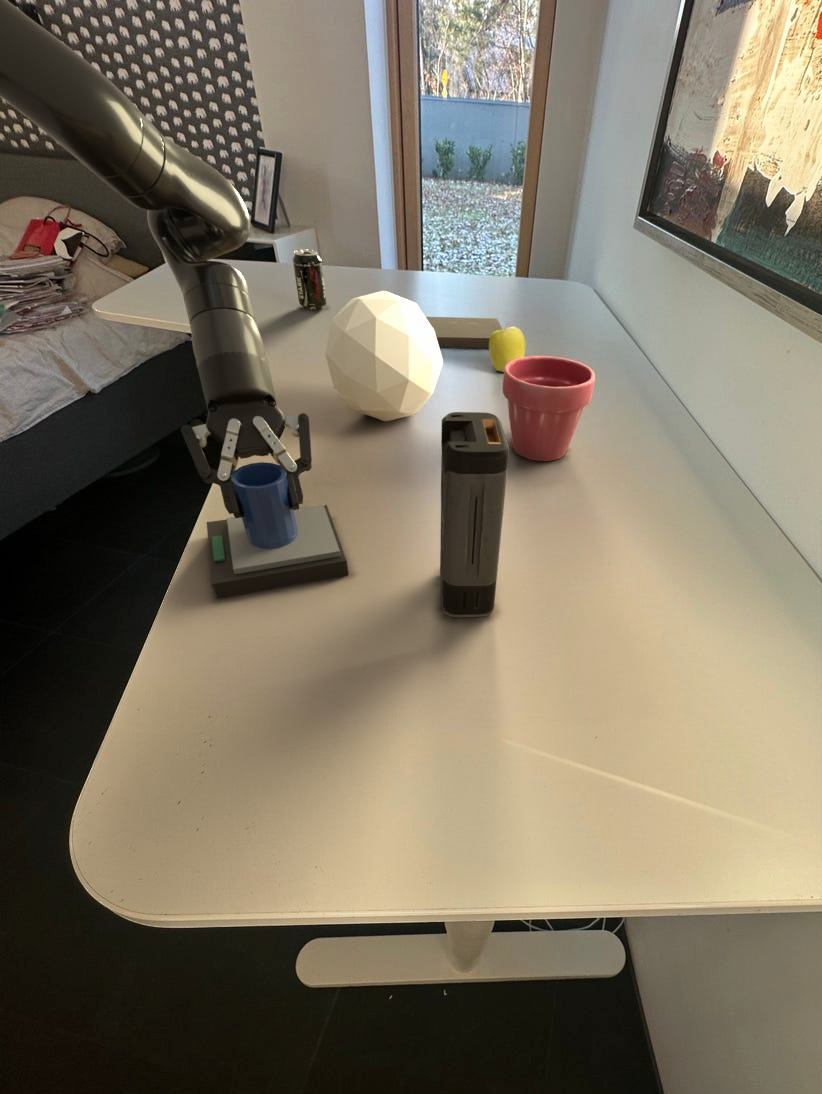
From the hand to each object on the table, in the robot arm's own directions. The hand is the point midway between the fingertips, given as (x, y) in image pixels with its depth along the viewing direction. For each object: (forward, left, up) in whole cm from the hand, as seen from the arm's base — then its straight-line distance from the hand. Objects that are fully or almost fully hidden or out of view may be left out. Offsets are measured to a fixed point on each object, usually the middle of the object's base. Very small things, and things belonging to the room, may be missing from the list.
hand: (267, 511), depth 65 cm
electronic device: (+20, -12, -7) cm, 25 cm away
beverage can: (+22, +108, -7) cm, 110 cm away
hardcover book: (+50, +78, -7) cm, 93 cm away
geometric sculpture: (+24, +40, -7) cm, 47 cm away
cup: (0, +2, -4) cm, 5 cm away
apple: (+54, +56, -7) cm, 78 cm away
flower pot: (+45, +20, -7) cm, 50 cm away
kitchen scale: (0, +2, -7) cm, 7 cm away
